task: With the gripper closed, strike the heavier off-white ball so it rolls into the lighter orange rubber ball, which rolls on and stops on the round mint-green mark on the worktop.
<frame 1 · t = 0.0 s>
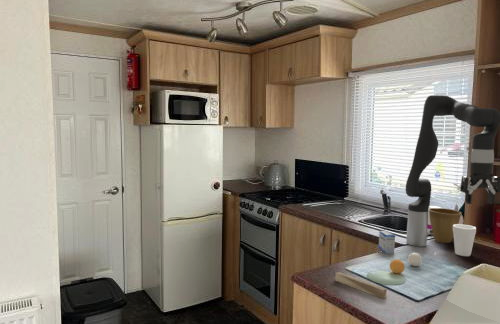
hand: (479, 203, 148), 29 cm above the counter, tool pointing down, fingers open, 8 cm apart
mint mark: (385, 277, 150), on the counter
white ball: (414, 259, 163), on the counter
medicine box: (386, 251, 184), on the counter
orange ball: (397, 266, 155), on the counter
plant pot: (443, 241, 202), on the counter
light wooden bar: (359, 288, 139), on the counter
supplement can: (433, 233, 217), on the counter
foam cup: (462, 254, 181), on the counter
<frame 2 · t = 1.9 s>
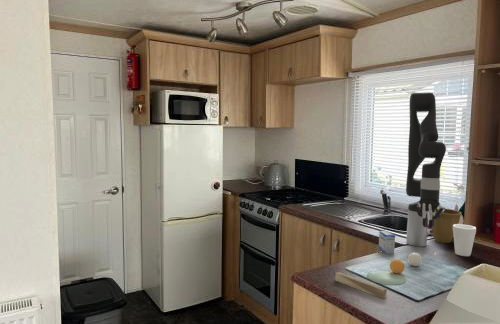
hand: (428, 227, 169), 15 cm above the counter, tool pointing down, fingers closed
nothing on the counter moved.
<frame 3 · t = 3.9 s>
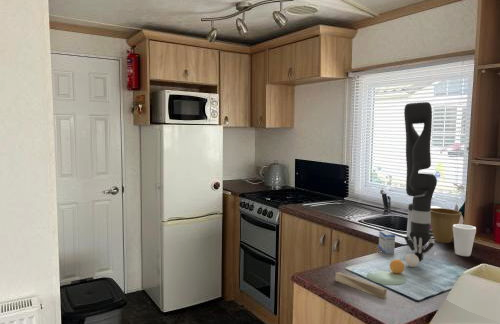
hand: (418, 261, 164), 2 cm above the counter, tool pointing down, fingers closed
white ball: (411, 260, 162), on the counter, touching gripper
everything else where it was.
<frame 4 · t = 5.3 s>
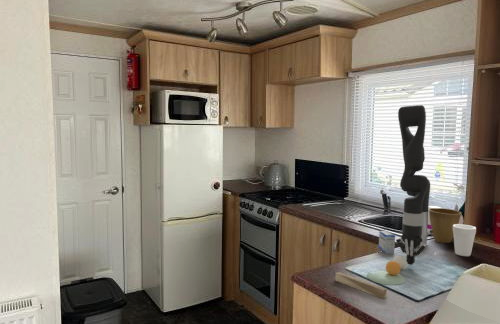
hand: (410, 264, 161), 2 cm above the counter, tool pointing down, fingers closed
white ball: (400, 262, 159), on the counter
orange ball: (393, 268, 153), on the counter
everything else where it was.
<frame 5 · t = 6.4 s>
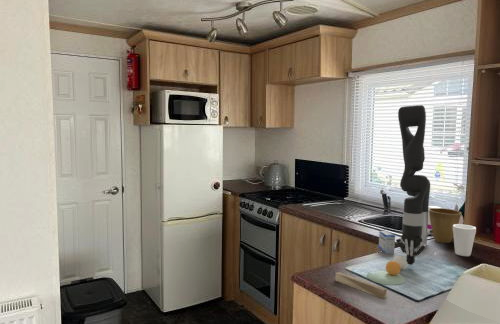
hand: (410, 264, 161), 2 cm above the counter, tool pointing down, fingers closed
nothing on the counter moved.
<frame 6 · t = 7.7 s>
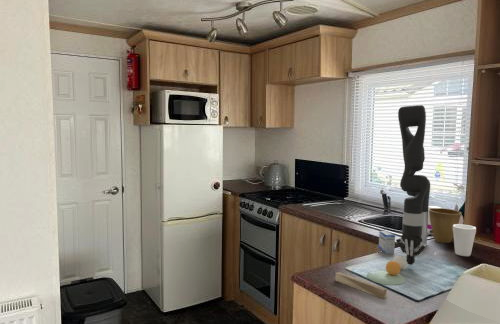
hand: (410, 264, 161), 2 cm above the counter, tool pointing down, fingers closed
nothing on the counter moved.
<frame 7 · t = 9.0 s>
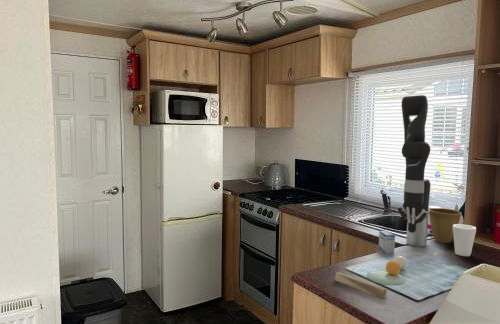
hand: (411, 232, 160), 15 cm above the counter, tool pointing down, fingers closed
nothing on the counter moved.
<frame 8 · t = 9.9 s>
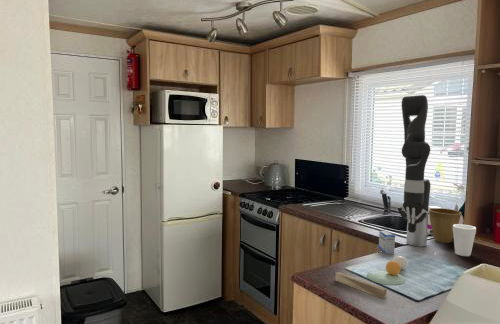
hand: (411, 232, 160), 15 cm above the counter, tool pointing down, fingers closed
nothing on the counter moved.
at the end: orange ball 5.0 cm from the mint mark (horizontally); orange ball never touched the robot; white ball first touched orange ball at 4.3 s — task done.
